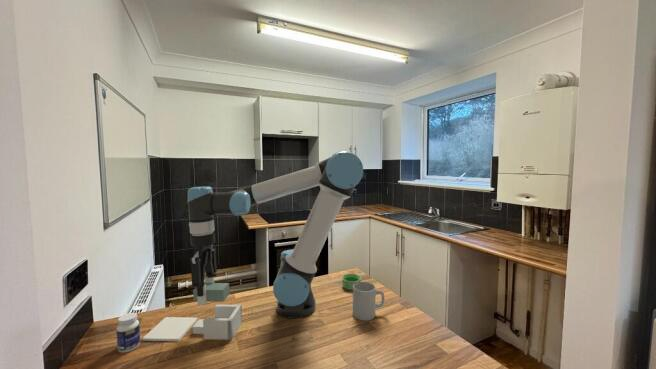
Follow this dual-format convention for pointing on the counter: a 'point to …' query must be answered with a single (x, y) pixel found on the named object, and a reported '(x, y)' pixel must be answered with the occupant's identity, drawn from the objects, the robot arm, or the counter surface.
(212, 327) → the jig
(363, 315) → the mug
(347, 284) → the ramekin
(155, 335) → the plate
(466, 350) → the counter surface
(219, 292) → the bar
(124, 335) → the pill bottle
